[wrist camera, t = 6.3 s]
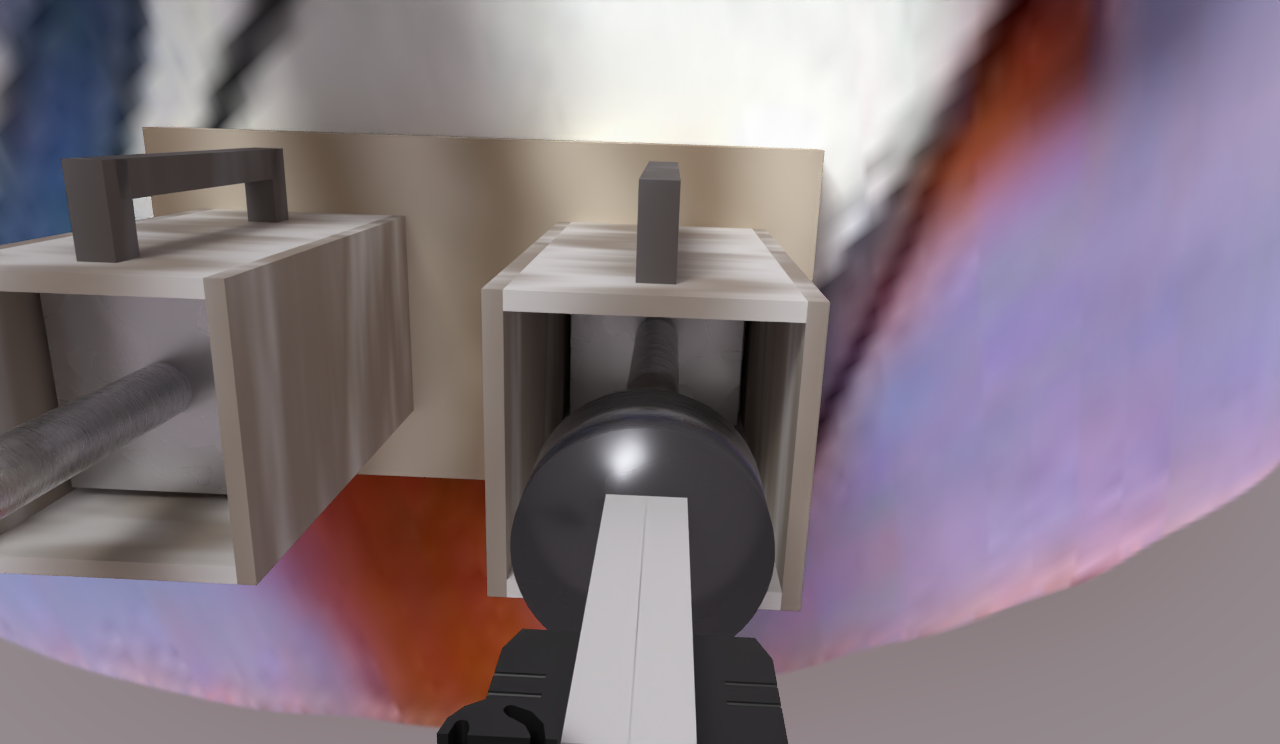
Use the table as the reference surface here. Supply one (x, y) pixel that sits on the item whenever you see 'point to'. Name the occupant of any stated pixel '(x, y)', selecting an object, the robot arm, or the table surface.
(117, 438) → the plunger
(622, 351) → the plunger
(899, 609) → the table surface
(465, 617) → the table surface
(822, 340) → the stand
